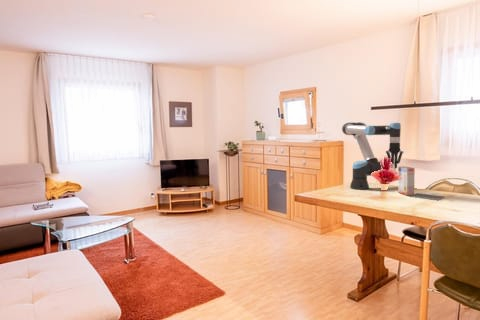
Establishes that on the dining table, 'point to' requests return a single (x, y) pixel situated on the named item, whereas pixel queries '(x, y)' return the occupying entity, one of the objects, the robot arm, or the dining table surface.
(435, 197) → the felt mat
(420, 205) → the dining table surface
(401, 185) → the cracker box
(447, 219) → the dining table surface
